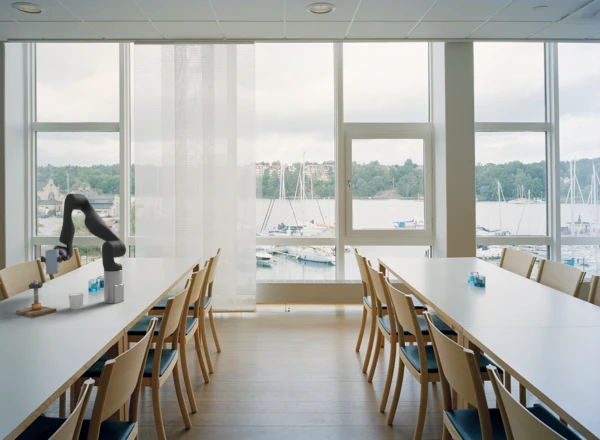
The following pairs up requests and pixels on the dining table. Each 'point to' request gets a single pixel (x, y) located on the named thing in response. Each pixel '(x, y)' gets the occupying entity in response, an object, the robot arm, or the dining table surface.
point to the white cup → (76, 300)
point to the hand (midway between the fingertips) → (51, 260)
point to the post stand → (36, 307)
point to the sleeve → (52, 261)
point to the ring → (35, 285)
